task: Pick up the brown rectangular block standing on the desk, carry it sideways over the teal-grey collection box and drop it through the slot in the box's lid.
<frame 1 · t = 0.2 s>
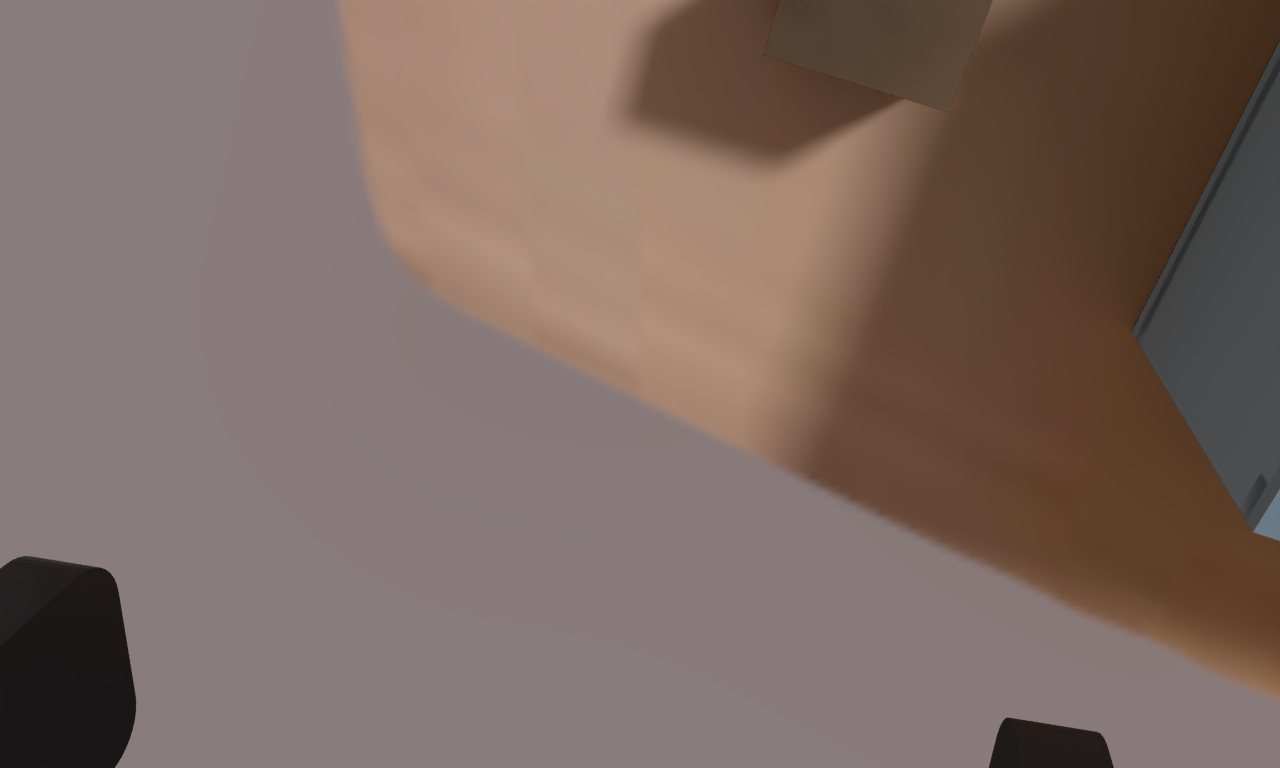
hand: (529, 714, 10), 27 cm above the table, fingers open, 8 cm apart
brown rectangular block: (872, 4, 33), on the table
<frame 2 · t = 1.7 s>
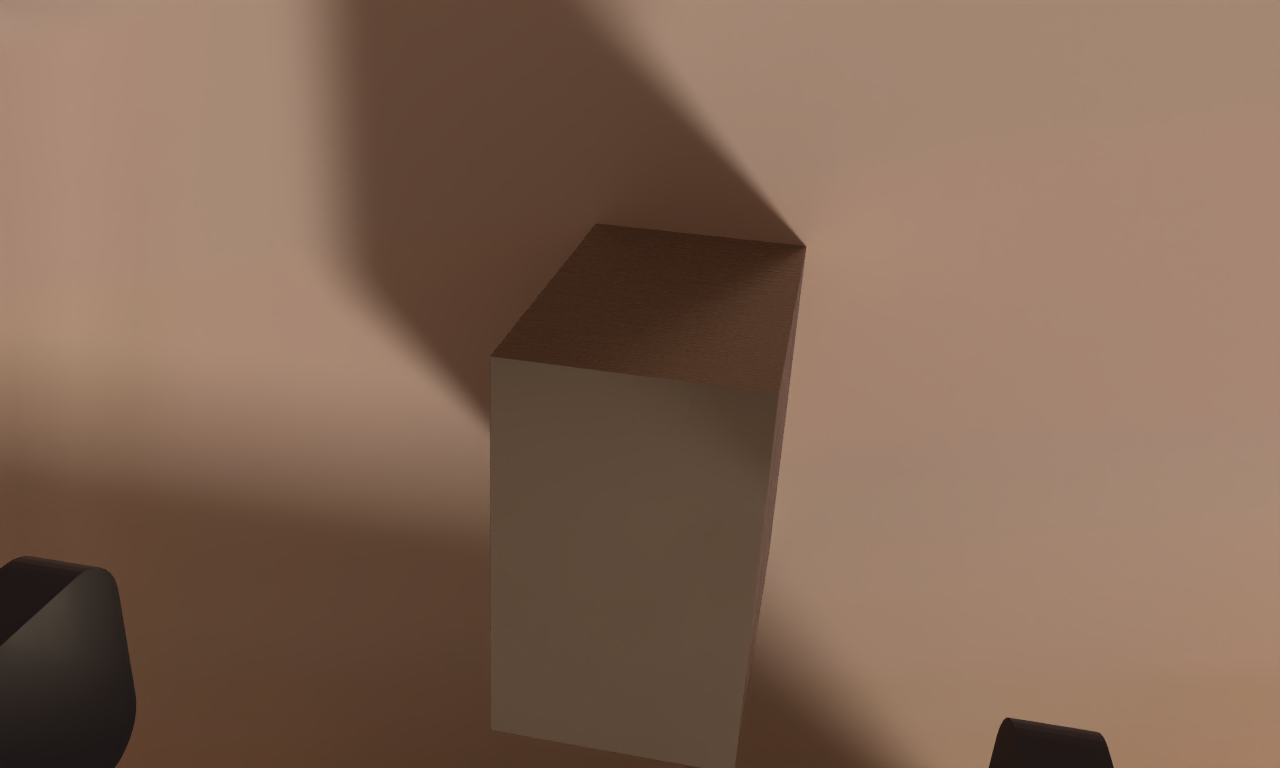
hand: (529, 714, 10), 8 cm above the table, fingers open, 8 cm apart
brown rectangular block: (687, 393, 17), on the table
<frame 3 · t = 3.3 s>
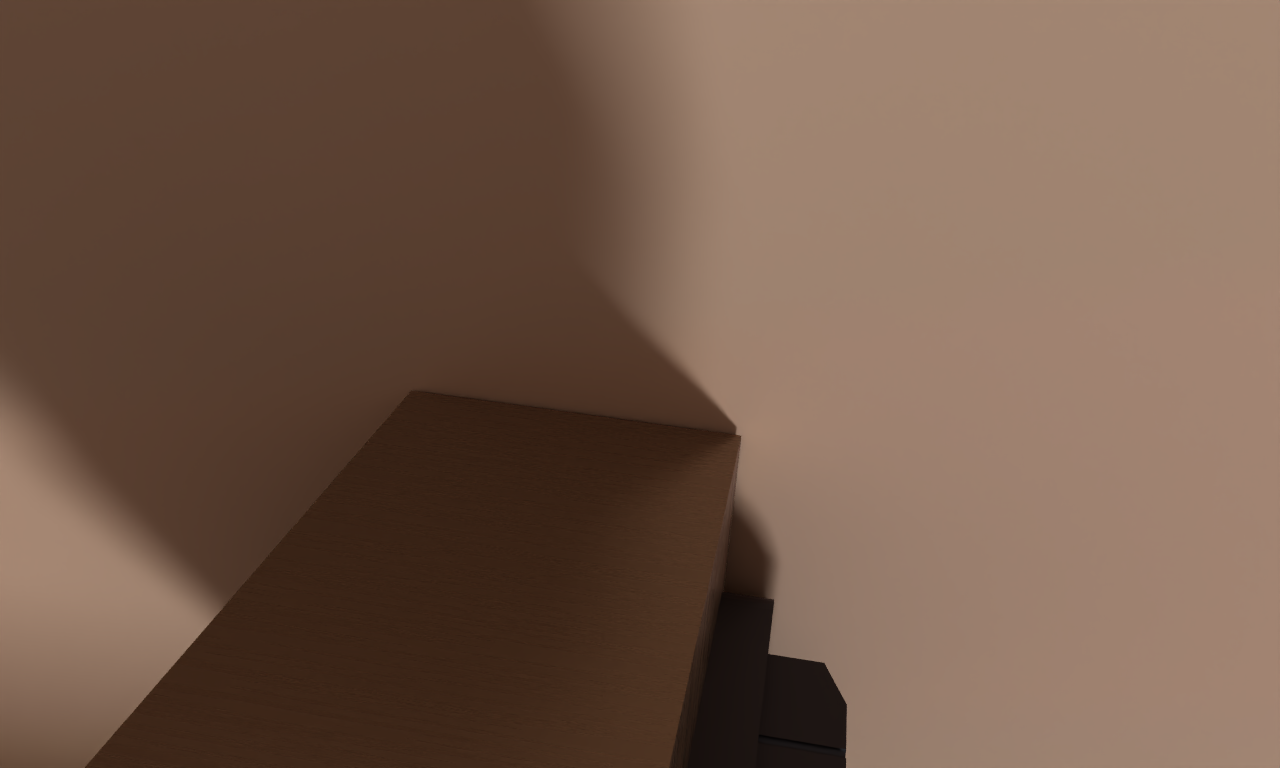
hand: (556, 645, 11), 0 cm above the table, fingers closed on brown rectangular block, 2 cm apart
brown rectangular block: (564, 640, 11), on the table, touching gripper
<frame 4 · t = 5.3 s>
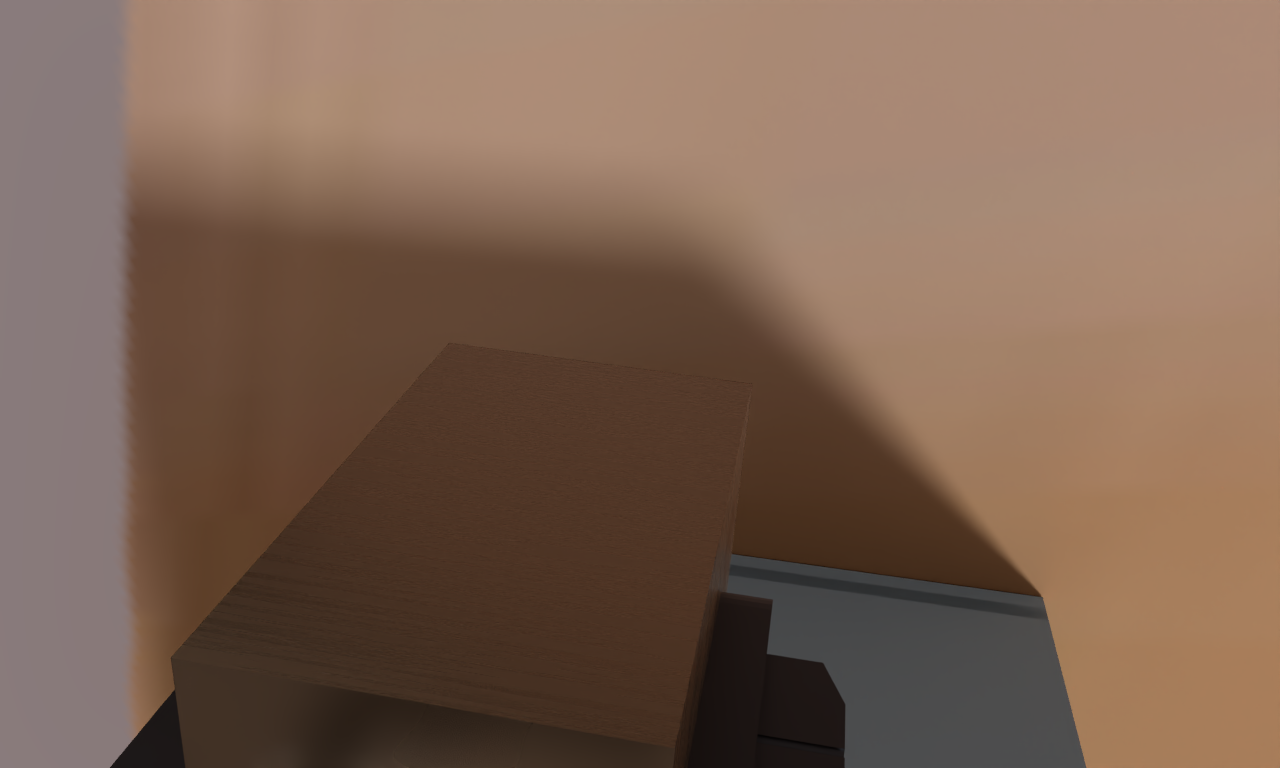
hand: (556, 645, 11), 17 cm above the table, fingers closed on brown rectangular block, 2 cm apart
brown rectangular block: (585, 578, 12), point 16 cm above the table, touching gripper
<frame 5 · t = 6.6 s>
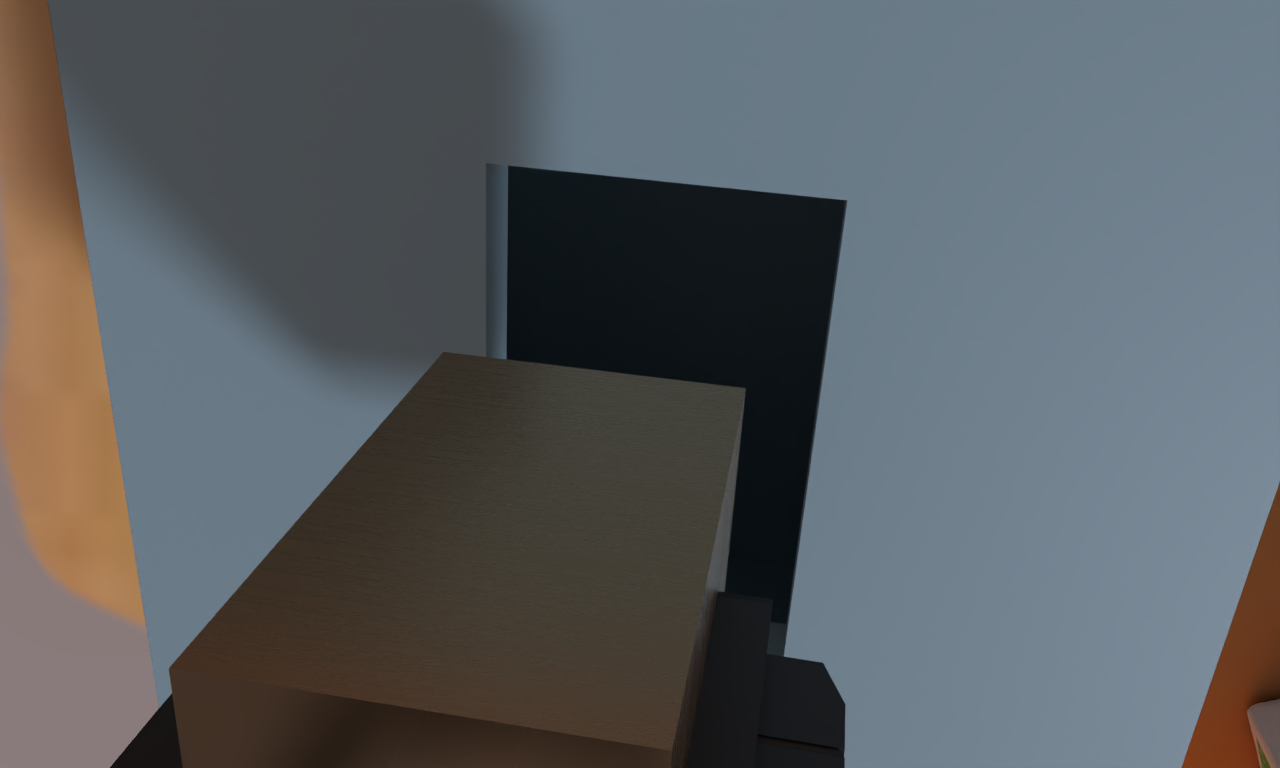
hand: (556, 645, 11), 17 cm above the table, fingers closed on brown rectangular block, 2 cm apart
brown rectangular block: (582, 584, 12), point 16 cm above the table, touching gripper
collection box: (733, 200, 26), on the table
when the fingers open (14 cm above the table, at t = 7.8 s): brown rectangular block drops 5 cm, point 8 cm above the table.
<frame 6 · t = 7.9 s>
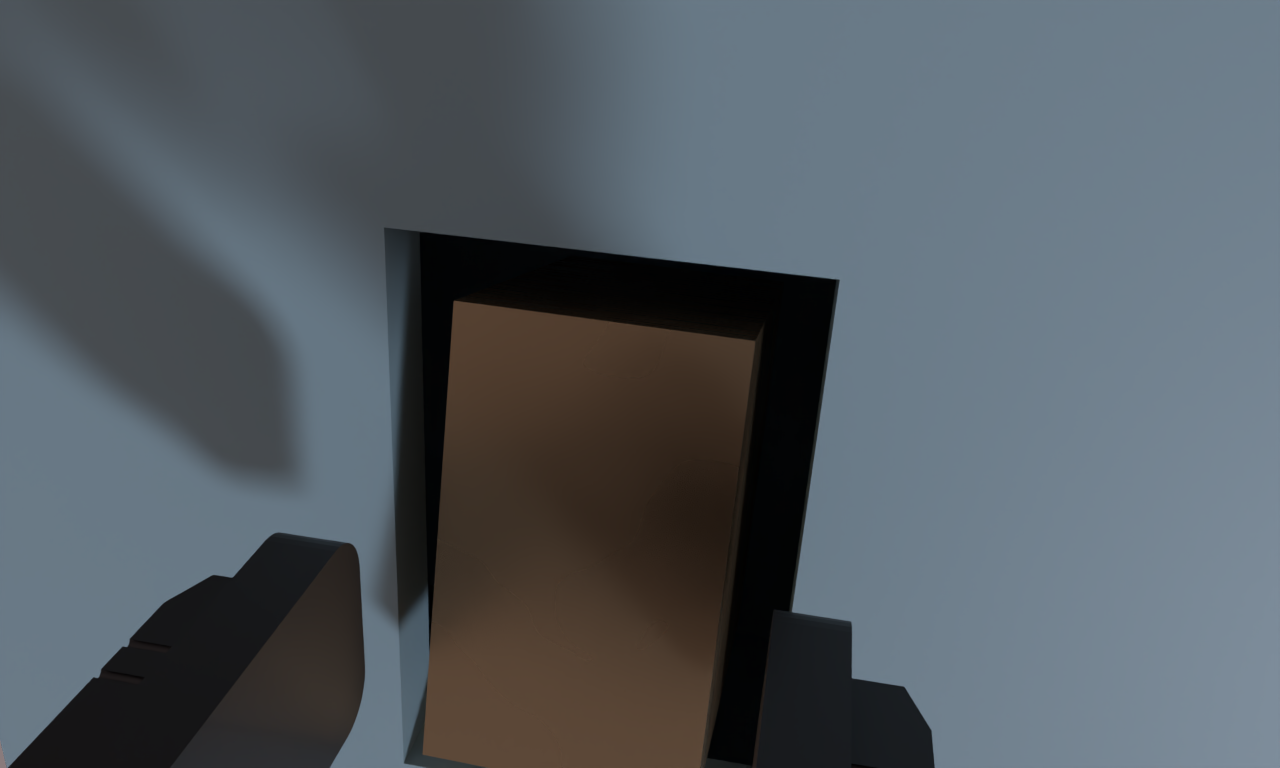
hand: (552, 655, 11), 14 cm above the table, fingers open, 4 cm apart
brown rectangular block: (657, 440, 16), point 8 cm above the table, tilted 13°
collection box: (714, 237, 23), on the table
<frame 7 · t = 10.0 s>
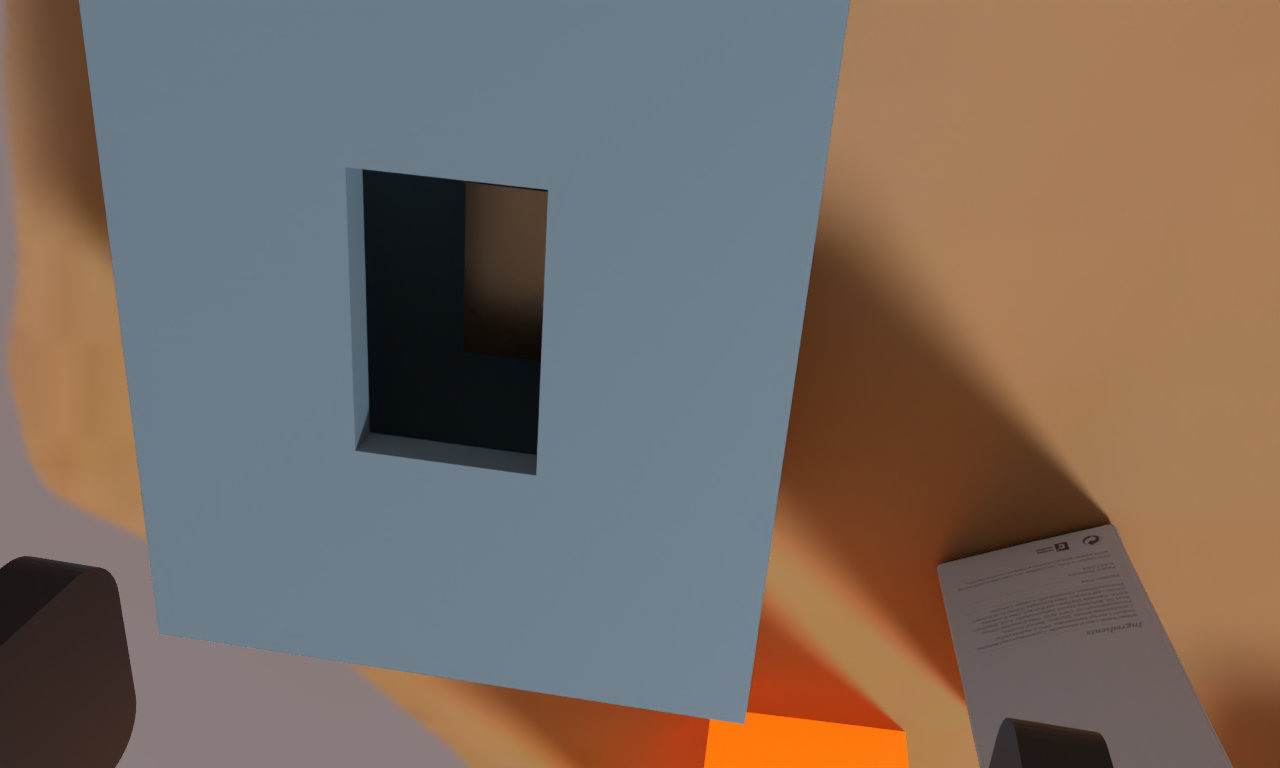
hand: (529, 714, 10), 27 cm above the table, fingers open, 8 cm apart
brown rectangular block: (554, 226, 36), point 1 cm above the table, touching collection box
collection box: (554, 195, 37), on the table
skincare box: (1053, 628, 41), on the table
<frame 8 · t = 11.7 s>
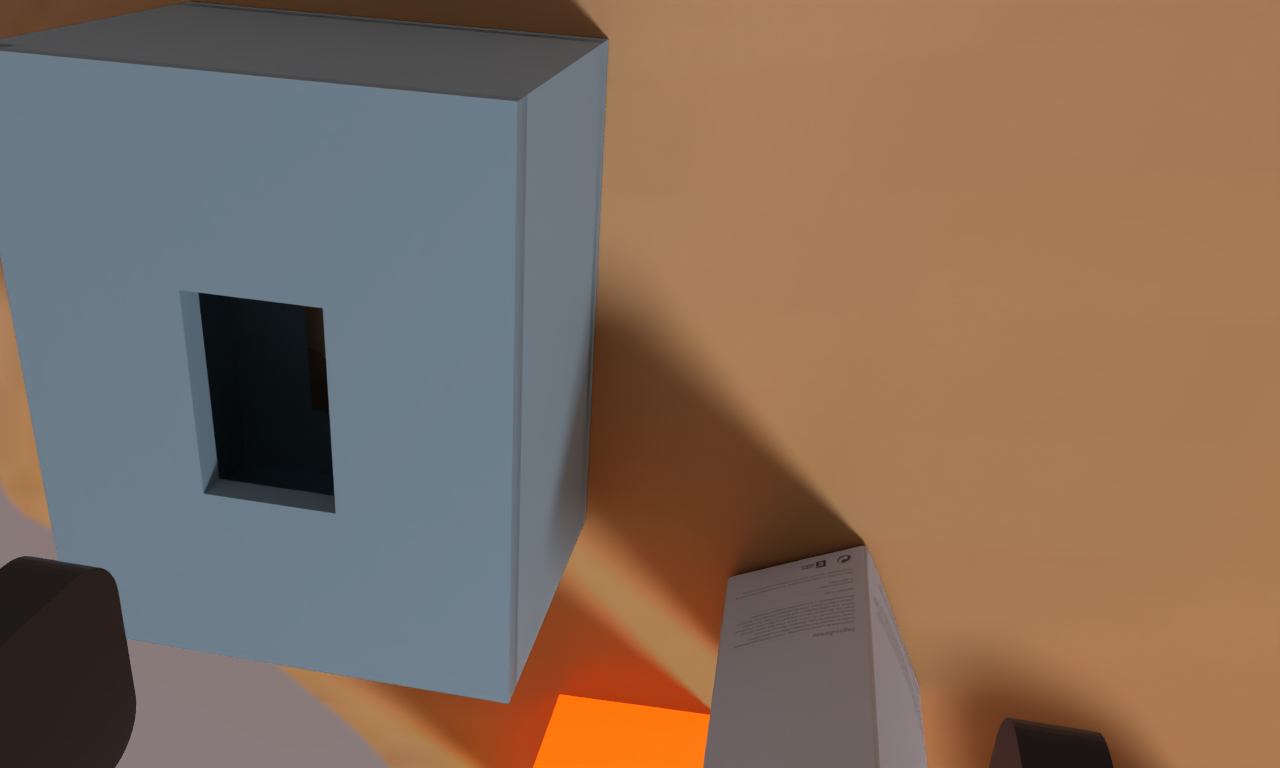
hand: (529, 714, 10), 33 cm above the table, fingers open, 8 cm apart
brown rectangular block: (398, 304, 45), point 1 cm above the table, touching collection box
collection box: (401, 278, 45), on the table
skincare box: (830, 631, 49), on the table
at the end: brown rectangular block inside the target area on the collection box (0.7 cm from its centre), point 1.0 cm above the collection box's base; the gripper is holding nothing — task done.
